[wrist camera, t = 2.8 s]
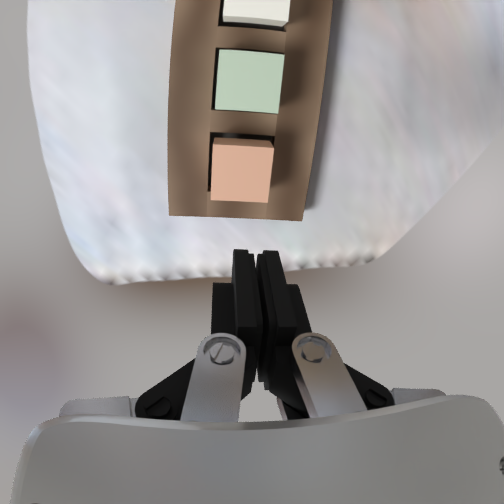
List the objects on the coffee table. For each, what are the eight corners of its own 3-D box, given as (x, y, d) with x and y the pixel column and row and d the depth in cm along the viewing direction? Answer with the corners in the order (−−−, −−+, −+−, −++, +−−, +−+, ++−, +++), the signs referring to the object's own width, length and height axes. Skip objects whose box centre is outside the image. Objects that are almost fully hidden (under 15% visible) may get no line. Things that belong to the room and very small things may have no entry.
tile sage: (279, 56, 20) (284, 54, 18) (273, 109, 22) (278, 113, 20) (220, 52, 19) (219, 49, 17) (216, 105, 22) (214, 109, 20)
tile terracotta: (269, 140, 23) (274, 148, 21) (264, 190, 26) (267, 202, 24) (214, 137, 23) (212, 144, 21) (212, 188, 25) (210, 200, 23)
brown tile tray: (329, -31, 16) (335, -37, 15) (298, 212, 29) (302, 221, 28) (186, -45, 15) (183, -52, 14) (172, 207, 28) (168, 215, 27)
